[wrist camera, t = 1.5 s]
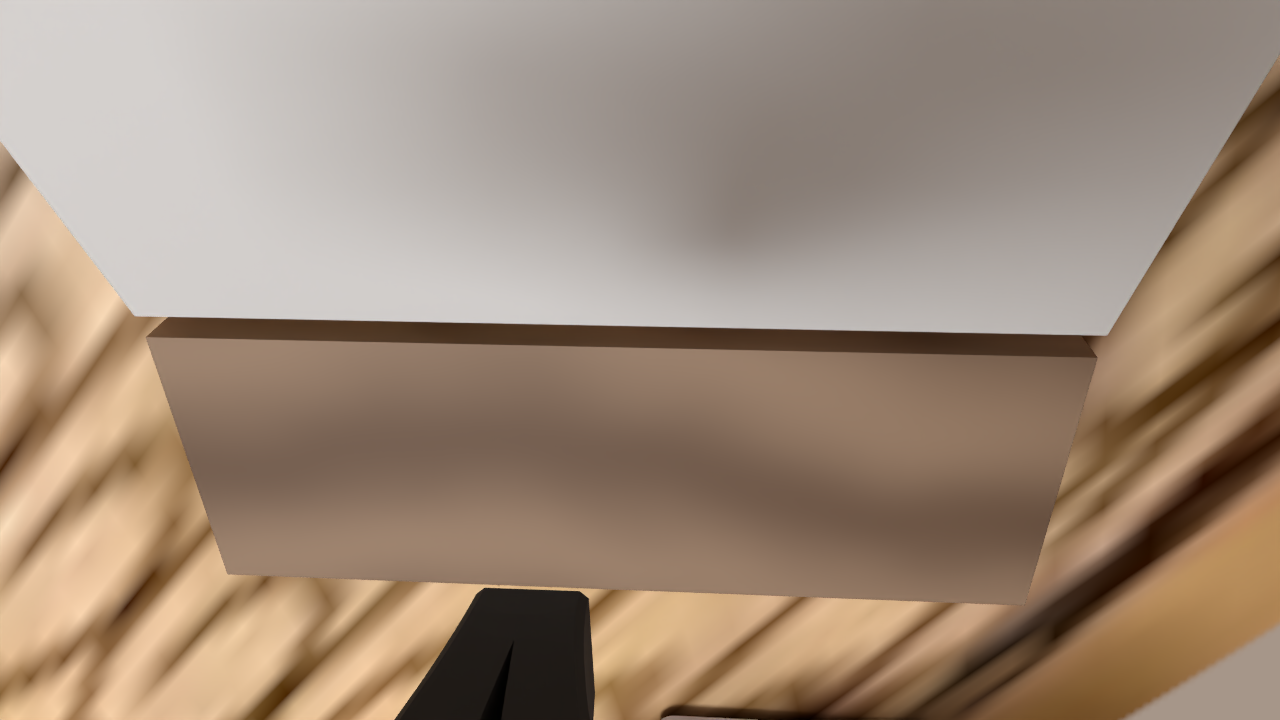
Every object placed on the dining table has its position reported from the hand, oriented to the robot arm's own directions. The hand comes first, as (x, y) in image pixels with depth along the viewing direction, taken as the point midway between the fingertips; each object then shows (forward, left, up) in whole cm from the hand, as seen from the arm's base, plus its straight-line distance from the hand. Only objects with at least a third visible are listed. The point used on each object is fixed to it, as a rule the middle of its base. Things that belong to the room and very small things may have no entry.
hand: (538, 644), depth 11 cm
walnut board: (-4, 0, -9) cm, 10 cm away
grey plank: (+4, 0, -8) cm, 9 cm away
